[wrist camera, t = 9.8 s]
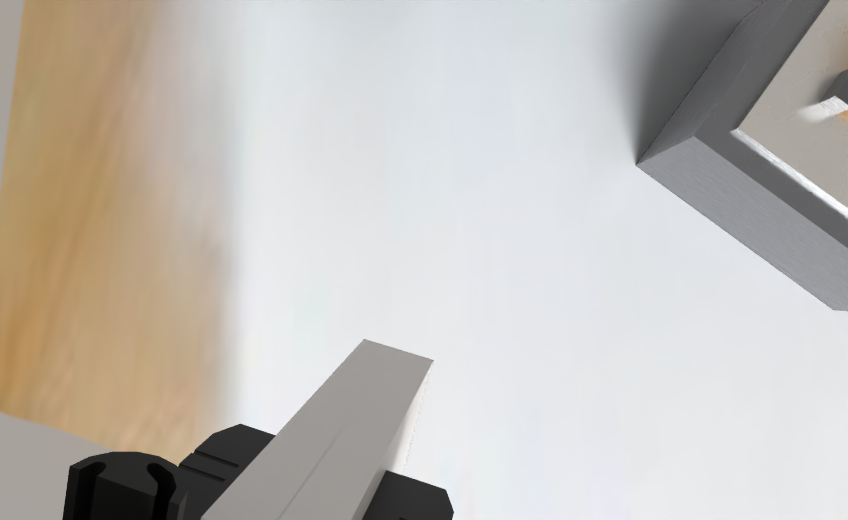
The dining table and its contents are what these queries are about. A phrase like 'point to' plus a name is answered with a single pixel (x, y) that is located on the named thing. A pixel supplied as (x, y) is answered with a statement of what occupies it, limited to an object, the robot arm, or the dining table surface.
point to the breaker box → (771, 142)
